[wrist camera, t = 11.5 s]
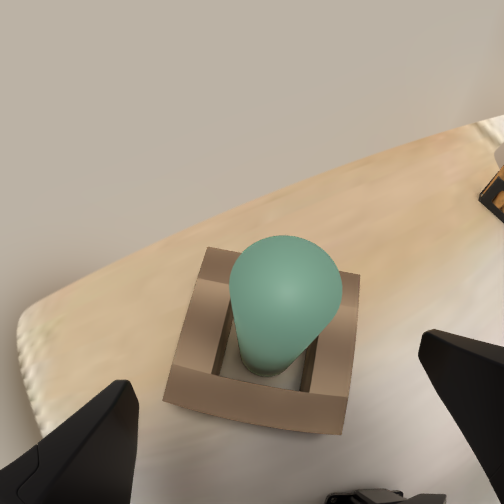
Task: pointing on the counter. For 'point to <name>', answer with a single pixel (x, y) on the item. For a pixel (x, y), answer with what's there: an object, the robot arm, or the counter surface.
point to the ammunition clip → (494, 195)
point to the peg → (281, 300)
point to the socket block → (253, 395)
